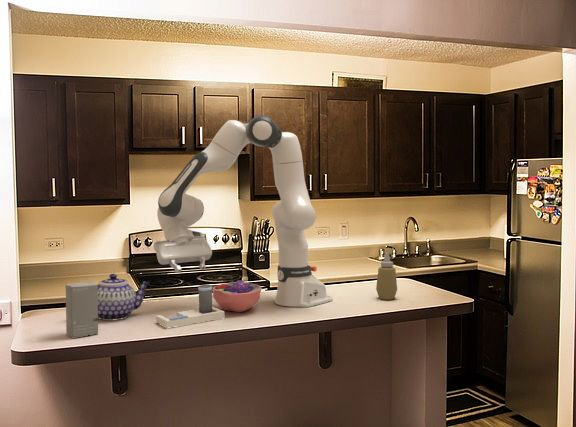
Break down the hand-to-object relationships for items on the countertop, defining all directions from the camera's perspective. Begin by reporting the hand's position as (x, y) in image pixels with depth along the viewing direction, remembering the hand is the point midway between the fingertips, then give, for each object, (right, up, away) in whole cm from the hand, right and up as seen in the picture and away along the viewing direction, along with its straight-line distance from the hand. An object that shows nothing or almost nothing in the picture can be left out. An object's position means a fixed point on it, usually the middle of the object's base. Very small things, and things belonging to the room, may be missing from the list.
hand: (191, 270), depth 211 cm
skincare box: (-29, -18, -26) cm, 43 cm away
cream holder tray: (+1, -16, -11) cm, 19 cm away
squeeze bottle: (+73, -13, +20) cm, 76 cm away
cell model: (+16, -15, +3) cm, 22 cm away
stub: (+6, -16, -7) cm, 18 cm away
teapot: (-26, -16, -5) cm, 31 cm away
